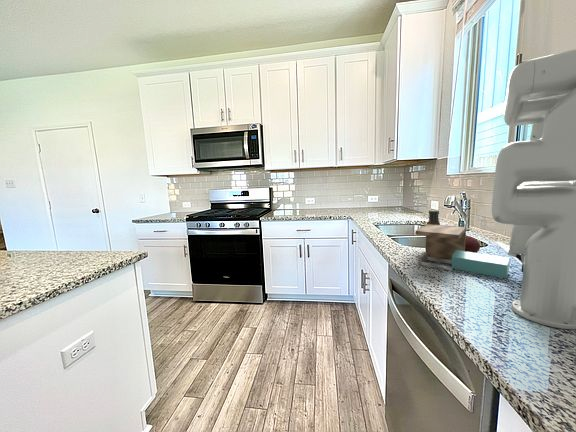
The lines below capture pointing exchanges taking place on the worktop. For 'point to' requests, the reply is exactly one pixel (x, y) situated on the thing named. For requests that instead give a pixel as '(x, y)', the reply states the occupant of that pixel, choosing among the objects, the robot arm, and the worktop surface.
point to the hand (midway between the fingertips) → (527, 274)
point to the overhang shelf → (441, 244)
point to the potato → (471, 245)
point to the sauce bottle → (433, 219)
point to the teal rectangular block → (481, 263)
